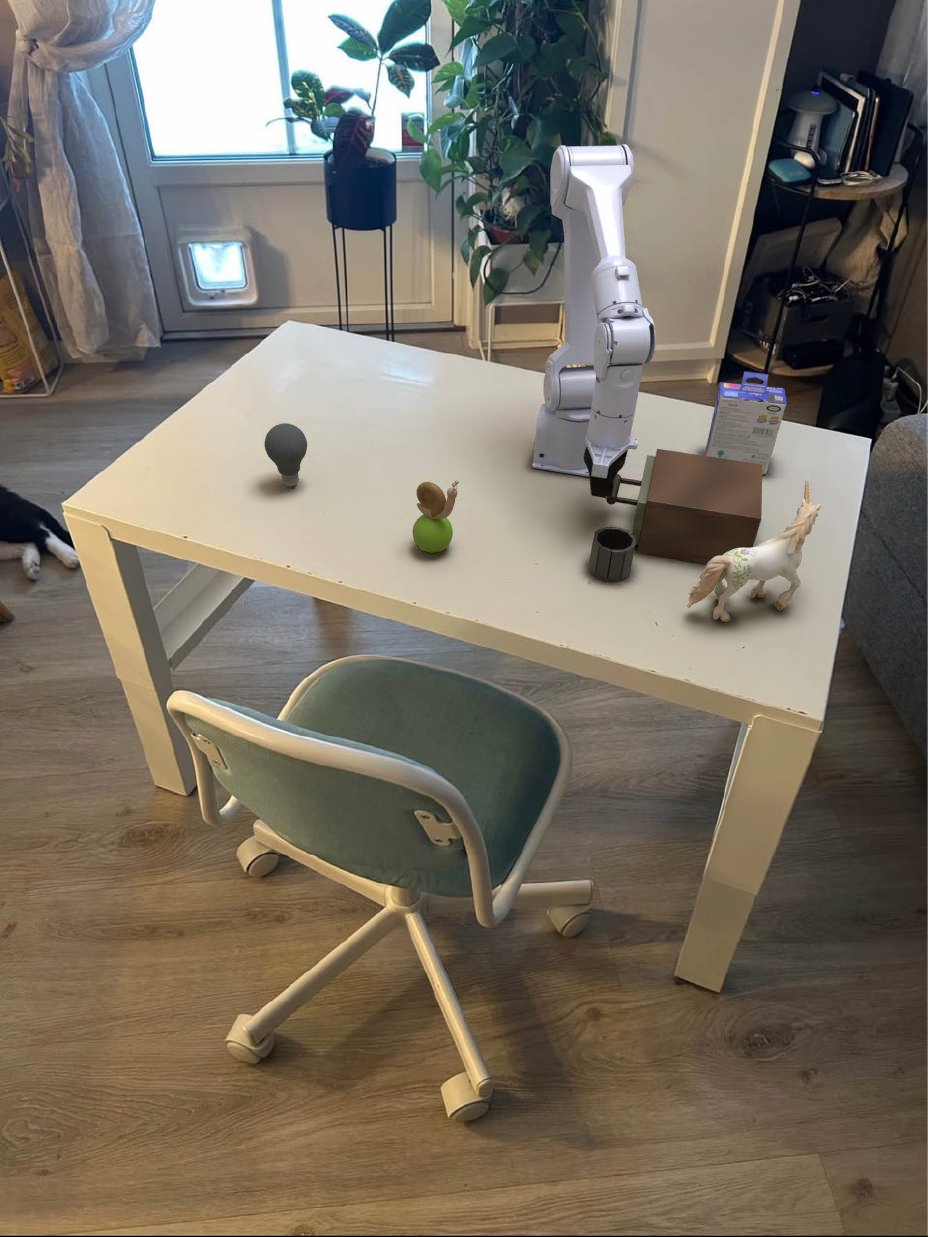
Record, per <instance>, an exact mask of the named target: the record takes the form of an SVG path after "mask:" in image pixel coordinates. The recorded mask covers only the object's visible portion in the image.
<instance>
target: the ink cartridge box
mask: <svg viewBox="0 0 928 1237" xmlns="http://www.w3.org/2000/svg"><path fill="white" fill-rule="evenodd" d="M748 379H758V380H761V381H762V383H755V382H747V380H748ZM768 379H769V374H767V373H760V372H752V371H743V376H742V379H741V383H730V382H719V385H718V390H717V396H716V400H715V405H714V409H713V414H712V418H711V423H710V429H709V433H708V437H707V441H706V445H705V448H704V452H703V456H709V457H716V458H722V459H729V460H736V461H742V462H749V463H755V464H762V475H767V472H768V469H769V466H770V463H771V459H772V455H773V452H774V449H775V445H776V441H777V437H778V434H779V431H780V428H781V424H782V421H783V418H784V415H785V411H786V408H787V404H788V402H787V396H786V390H785V388H783V387H772V386H768V382H769V380H768Z"/></svg>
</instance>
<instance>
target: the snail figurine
mask: <svg viewBox="0 0 928 1237" xmlns="http://www.w3.org/2000/svg"><path fill="white" fill-rule="evenodd" d="M458 485H459V479H458V480H457V479H456V480H454V482H452V483H451V487H448V488H447V490H446V494H445V492H444V490H443V489H442V488H441V487H440V486H439V485H437V484H436V483H434V482H432V481H424V482H421V483H420V484H418V486H417V488H416V498H417V500H418V502H417V503H416V507H417V509H418V510H419V511H420V513H422V515H420V516H419V517H418V518H417V519H416V520H415V521H414V524H413V525H412V539H413V541H414V543H415V545H416V547H418V548H419V549H420V550H422V551H424V552H425V553H433V554H434V553H439V552H442V551H443V550H445V549H447V548H448V546H449V545H450V544H451V542H452V539H453V535H454V530H453V525H452V523H451V522H450V520H449V519H448V517H449V516H450V515H451V513H452V512H453V510H454V506H455V504H456V498H457V496H458V490H457V489H458ZM455 487H456V488H455ZM446 496H447V497H446Z"/></svg>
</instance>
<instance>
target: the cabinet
mask: <svg viewBox="0 0 928 1237" xmlns="http://www.w3.org/2000/svg"><path fill="white" fill-rule="evenodd" d="M762 505H763V474H762V464H755V463H749V462H742V461H736V460H729V459H722V458H716V457H709V456H704V455H703V454H702V455H701V454H695V453H690V452H682V451H675V450H668V449H662V448H656V452H655V462H654V467H653V472H652V478H651V483H650V488H649V493H648V498H647V504H646V509H645V514H644V519H643V525H642V530H641V535H640V540H639V544H637V551H636V552H637V553H638V554H644V555H650V556H654V557H655V556H656V557H662V558H666V559H673V560H678V561H684V562H690V563H696V564H700V565H707V563H708V562H709V561H710V560H711V559H712V558H714V557H715V556H722V555H723V554H724V553H726V552H728V551H730V550H733V549H736V548H751V547H754V545H755V542H756V538H757V536H758V531H759V529H760V525H761V522H762V512H763V510H762V509H763V508H762V507H763V506H762Z"/></svg>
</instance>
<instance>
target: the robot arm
mask: <svg viewBox="0 0 928 1237" xmlns="http://www.w3.org/2000/svg"><path fill="white" fill-rule="evenodd" d="M550 165H551V166H550V174H549V176H550V179H549V180H550V181H549V182H550V184H549V186H550V206H551V214H552V215H553V216H554V217H556V218H558V219H560V220H561V221H562V228H563V237H564V238H563V239H564V240H563V242H564V244H563V248H564V249H563V250H564V252H563V254H564V256H563V258H564V260H563V261H564V262H563V266H564V271H563V272H564V274H563V276H564V278H563V280H564V281H563V282H564V283H563V285H564V286H563V287H564V290H563V292H564V294H563V296H564V302H563V303H564V343H563V344H562V345H560V346H559V347H558V348H557V349H556V350H555V351H554V352H552V353H551V354H550V355H549V356H548V358H546V361H545V368H544V369H545V371H544V377H543V399H544V403H542V404H540V407H539V410H538V414H537V415H538V416H537V419H536V427H535V436H534V446H533V448H534V450H533V459H532V465H531V467H532V468H533V469H537V470H545V471H551V472H556V473H563V474H568V475H576V476H582V477H587V478H589V489H590V495H591V497H594V498H601V499H606V498H607V494H608V490H609V489H610V487H611V485H612V482H613V480H614V478H615V476H616V474H619V472H620V471H621V470H622V469H623V467H624V466H625V463H626V460H627V456H628V452H629V450H637V449H638V446H639V441H640V440H639V438H638V437H633V436H631V435H632V430H633V424H634V419H635V413H636V408H637V403H638V398H639V392H640V386H641V381H642V376H643V370H644V364H646V365H647V364H649V363H651V361H652V360H653V358H654V355H655V351H656V343H657V335H656V334H657V333H656V326H655V322H654V320H653V319H654V318H652V316H650V314H649V309H648V308H647V307H644V306H643V301H642V294H641V288H640V282H639V276H638V269H637V266H636V264H635V263H634V262H633V261H632V260H629V259H628V258H627V256H626V240H625V238H626V237H625V228H624V227H625V224H624V209H623V207H624V205H625V203H626V202H627V200H628V195H629V193H630V190H631V188H632V184H633V180H634V172H635V161H634V154H633V152H632V150H631V149H630V147H629V146H628V144H625V143H623V144H619V145H585V146H584V145H581V146H578V145H577V146H567V145H562V144H561V145H559V146H558V147H557V148H556V150H555V151H554V153H553V155H552V160H551V164H550ZM589 364H590V365H591V364H592V365H591V366H574V365H589ZM571 365H572V366H571ZM566 366H571V367H566Z"/></svg>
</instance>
